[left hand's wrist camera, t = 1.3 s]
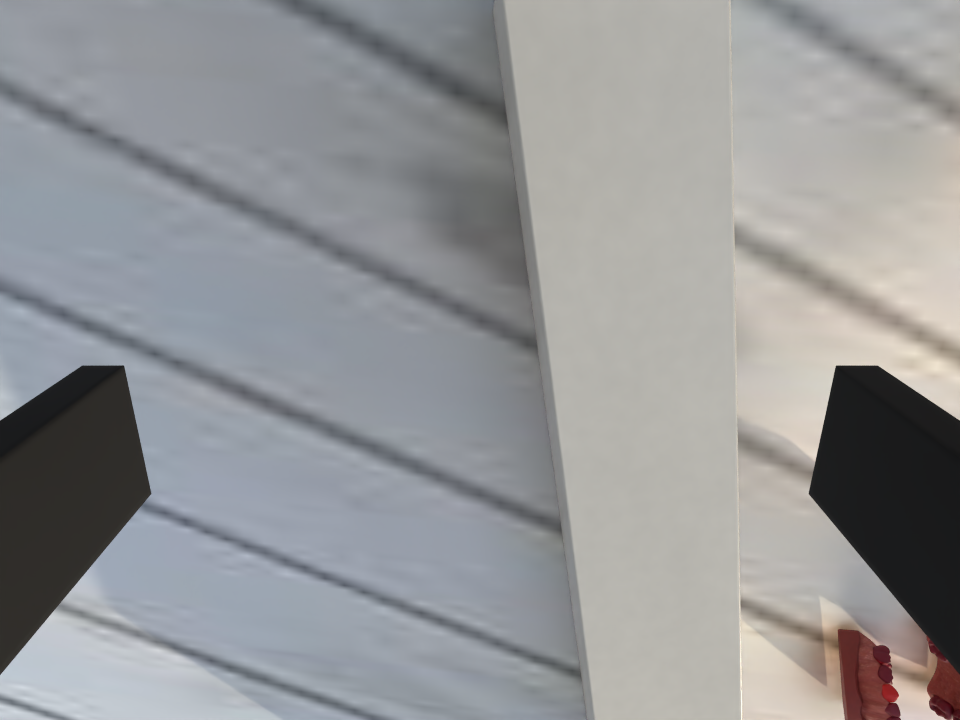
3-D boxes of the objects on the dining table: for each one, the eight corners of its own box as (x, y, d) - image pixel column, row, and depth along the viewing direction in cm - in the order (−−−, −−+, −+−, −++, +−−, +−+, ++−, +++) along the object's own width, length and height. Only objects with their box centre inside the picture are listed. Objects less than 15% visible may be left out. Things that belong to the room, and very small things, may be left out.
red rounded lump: (1028, 752, 32) (859, 778, 33) (969, 683, 36) (819, 708, 37) (1031, 662, 30) (852, 693, 31) (968, 600, 34) (811, 628, 35)
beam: (492, 9, 24) (498, -31, 17) (653, -19, 24) (730, -72, 17) (615, 935, 44) (642, 1098, 37) (704, 927, 44) (748, 1089, 37)
